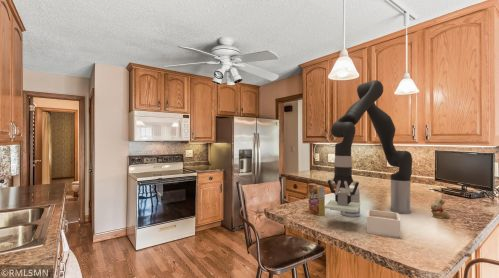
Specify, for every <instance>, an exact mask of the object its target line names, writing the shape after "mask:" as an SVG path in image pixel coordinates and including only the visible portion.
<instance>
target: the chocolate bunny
mask: <svg viewBox="0 0 499 278" xmlns="http://www.w3.org/2000/svg"><path fill="white" fill-rule="evenodd" d="M445 203H446V201H445V200H444V199H442V197H439V198H438V199H437V200H435V201H434V202H432V203H431V205H430V209H431V210H430V212H431V214H432V217H433V218H435V219H440V220H442V219H443V220H444V219H445V220H446V219H447V220H448V219H450V218H451V216H450V214H449V211H447V210H445V209H443V205H444V204H445Z"/></svg>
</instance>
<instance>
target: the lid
mask: <svg viewBox="0 0 499 278" xmlns="http://www.w3.org/2000/svg"><path fill="white" fill-rule="evenodd" d="M347 196H348V194H347V193H340V191H339V193H338V203H337V201H335V199H330V200H329V201H328V202H326V204H325V210H327V209H328V210H331V211H338V212H340V211H344V212H352V213H354V212H358V211H359V207H360V208H361V202H360V203H355V202H350V203H349V204H347Z"/></svg>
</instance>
